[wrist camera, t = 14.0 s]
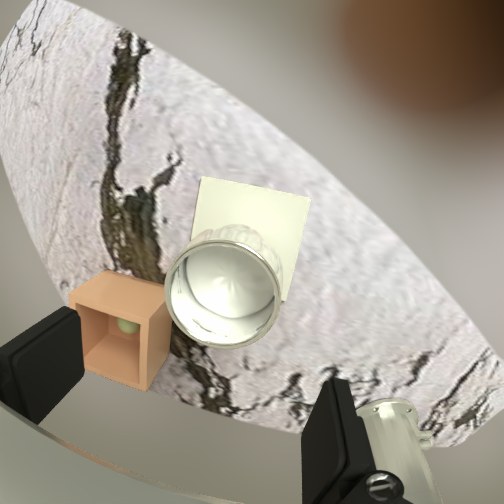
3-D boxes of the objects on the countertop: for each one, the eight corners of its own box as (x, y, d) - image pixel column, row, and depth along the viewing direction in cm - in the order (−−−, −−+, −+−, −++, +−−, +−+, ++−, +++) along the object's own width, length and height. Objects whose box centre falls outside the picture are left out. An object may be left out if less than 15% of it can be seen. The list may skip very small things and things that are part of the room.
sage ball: (146, 307, 34) (136, 318, 31) (145, 329, 34) (135, 341, 31) (124, 301, 34) (112, 311, 31) (123, 322, 34) (112, 334, 32)
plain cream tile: (310, 198, 30) (310, 198, 30) (285, 299, 33) (285, 301, 32) (202, 176, 30) (201, 176, 30) (186, 277, 33) (185, 278, 33)
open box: (175, 287, 34) (148, 319, 26) (169, 353, 36) (146, 392, 28) (106, 269, 34) (68, 292, 26) (106, 333, 36) (74, 364, 28)
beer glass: (221, 278, 32) (181, 358, 18) (204, 214, 31) (145, 250, 16) (287, 266, 31) (294, 342, 17) (273, 199, 30) (270, 223, 15)
